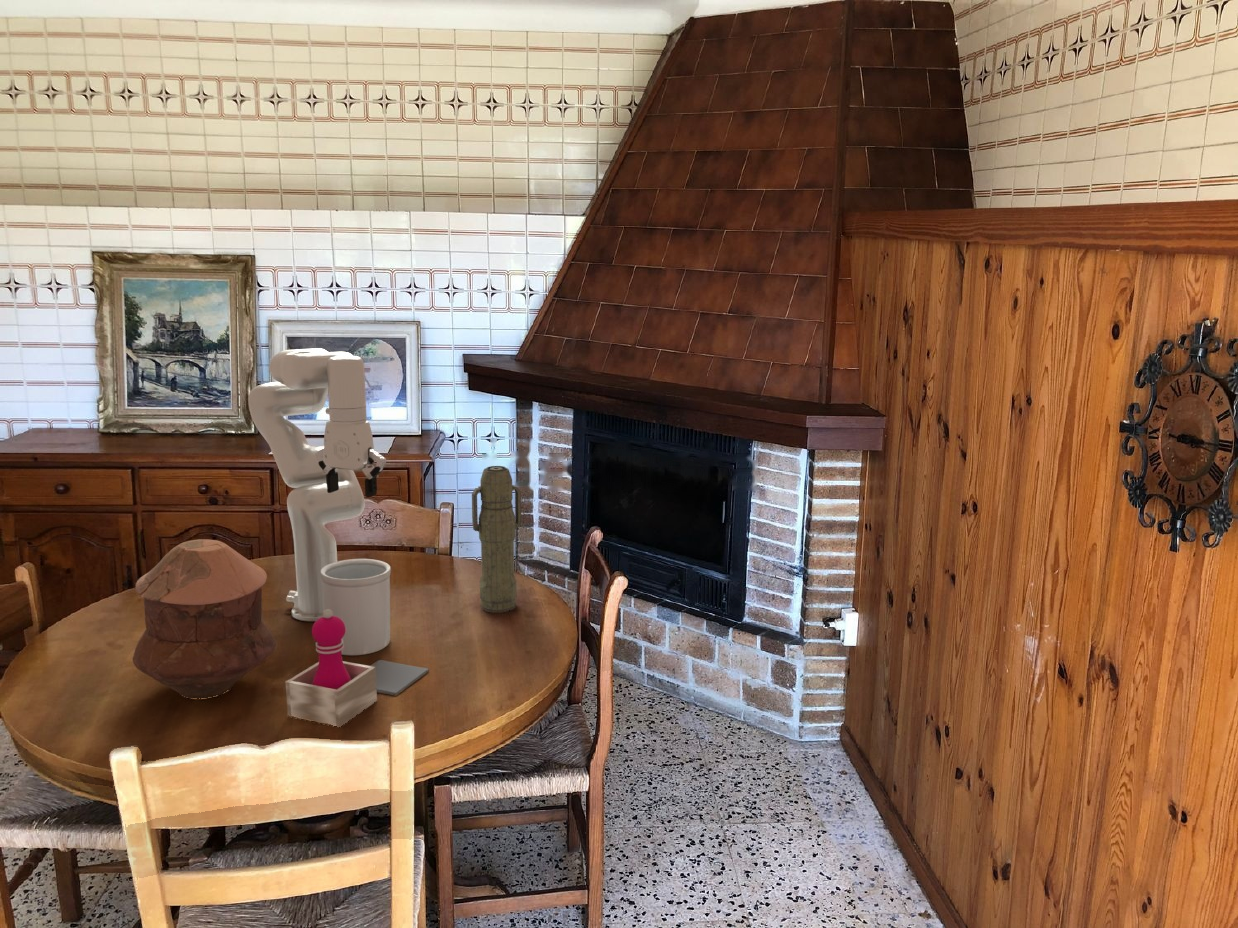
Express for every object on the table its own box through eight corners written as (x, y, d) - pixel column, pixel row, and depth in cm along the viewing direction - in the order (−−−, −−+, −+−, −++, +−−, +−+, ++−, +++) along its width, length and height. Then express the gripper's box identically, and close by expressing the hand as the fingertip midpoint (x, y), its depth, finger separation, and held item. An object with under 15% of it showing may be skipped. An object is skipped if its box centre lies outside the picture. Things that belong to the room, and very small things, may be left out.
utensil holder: (371, 625, 221) (368, 553, 217) (406, 644, 210) (403, 569, 207) (312, 642, 211) (307, 567, 207) (346, 663, 200) (341, 584, 196)
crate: (287, 716, 177) (285, 681, 175) (327, 690, 187) (325, 657, 186) (339, 727, 173) (337, 692, 171) (377, 700, 183) (375, 666, 182)
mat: (344, 685, 190) (344, 682, 189) (379, 662, 201) (379, 659, 200) (396, 695, 186) (395, 692, 185) (428, 671, 197) (428, 668, 196)
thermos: (528, 607, 233) (526, 469, 225) (483, 616, 227) (480, 474, 219) (513, 596, 240) (511, 462, 233) (469, 604, 234) (466, 466, 227)
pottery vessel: (133, 676, 193) (118, 535, 186) (265, 652, 205) (256, 519, 198) (141, 731, 170) (124, 573, 164) (288, 701, 183) (278, 552, 176)
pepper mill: (360, 703, 182) (355, 605, 178) (338, 720, 176) (332, 618, 171) (328, 697, 184) (323, 600, 180) (305, 713, 178) (298, 613, 174)
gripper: (302, 414, 199) (307, 493, 203) (372, 420, 193) (376, 501, 197) (325, 409, 206) (329, 486, 209) (393, 415, 200) (396, 493, 204)
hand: (352, 493), depth 203 cm, fingers open, 9 cm apart
